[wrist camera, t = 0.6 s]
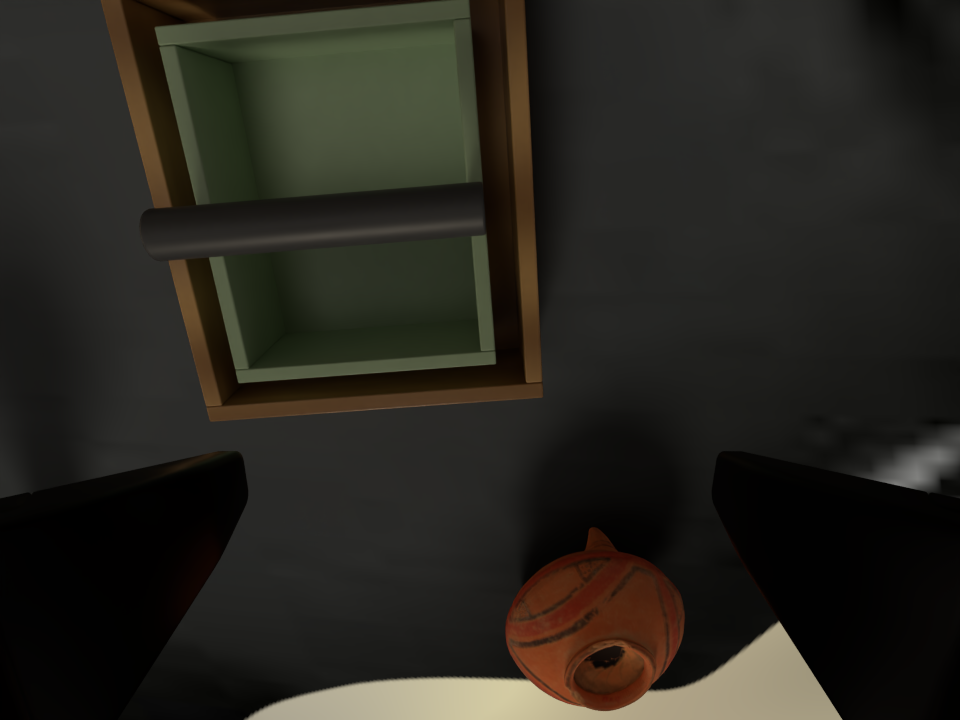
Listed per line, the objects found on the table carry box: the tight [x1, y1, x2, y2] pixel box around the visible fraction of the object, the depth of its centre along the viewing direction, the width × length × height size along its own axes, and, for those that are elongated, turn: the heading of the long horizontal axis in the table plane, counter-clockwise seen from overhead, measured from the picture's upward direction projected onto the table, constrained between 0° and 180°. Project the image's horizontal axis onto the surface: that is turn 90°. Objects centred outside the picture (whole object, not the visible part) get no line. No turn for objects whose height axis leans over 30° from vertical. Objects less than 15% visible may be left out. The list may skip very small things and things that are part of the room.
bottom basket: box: [101, 0, 543, 421], centre depth 21 cm, size 14×12×4 cm
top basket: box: [140, 0, 496, 383], centre depth 19 cm, size 11×9×8 cm
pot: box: [506, 527, 685, 711], centre depth 27 cm, size 8×8×7 cm
